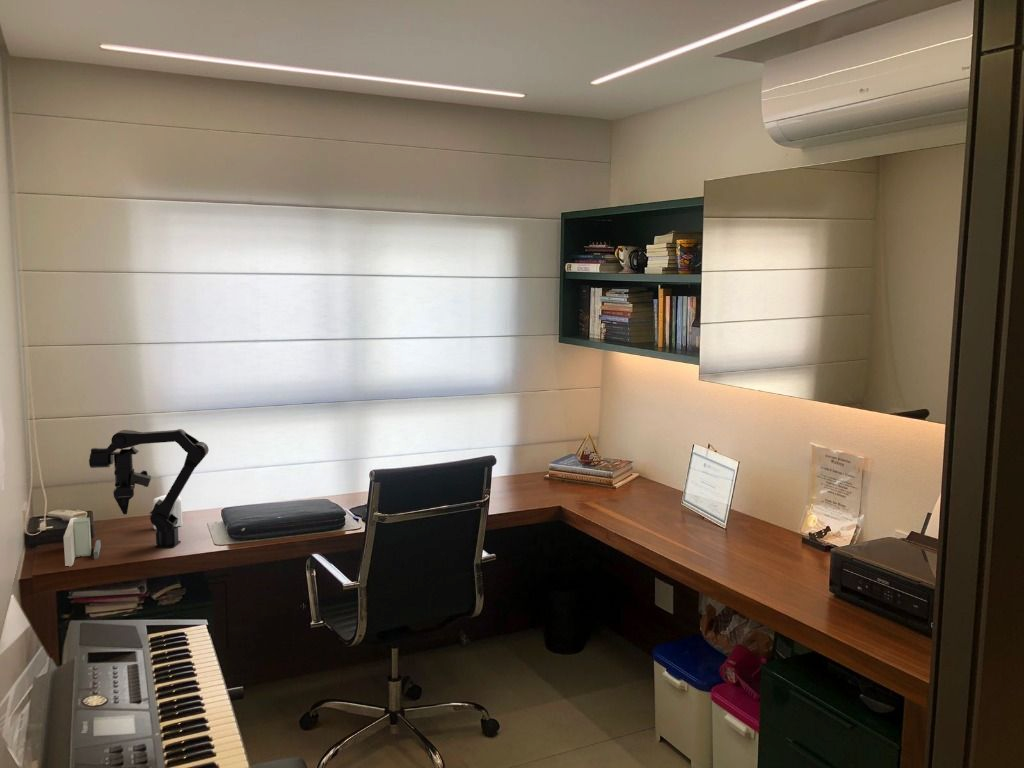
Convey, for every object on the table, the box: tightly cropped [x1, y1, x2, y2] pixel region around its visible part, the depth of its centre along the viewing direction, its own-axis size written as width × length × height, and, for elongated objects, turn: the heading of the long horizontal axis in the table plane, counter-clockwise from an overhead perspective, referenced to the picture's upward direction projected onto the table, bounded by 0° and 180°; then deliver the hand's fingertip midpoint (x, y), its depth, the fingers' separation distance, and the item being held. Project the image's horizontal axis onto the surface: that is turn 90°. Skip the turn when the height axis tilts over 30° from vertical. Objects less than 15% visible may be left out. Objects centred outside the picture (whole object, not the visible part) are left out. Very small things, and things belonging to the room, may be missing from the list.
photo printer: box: [152, 494, 183, 530], centre depth 313 cm, size 10×4×12 cm, turn 123°
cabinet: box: [73, 517, 93, 558], centre depth 280 cm, size 5×5×12 cm
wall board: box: [63, 517, 102, 567], centre depth 280 cm, size 9×24×10 cm, turn 23°
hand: (125, 510), depth 287 cm, fingers open, 9 cm apart
